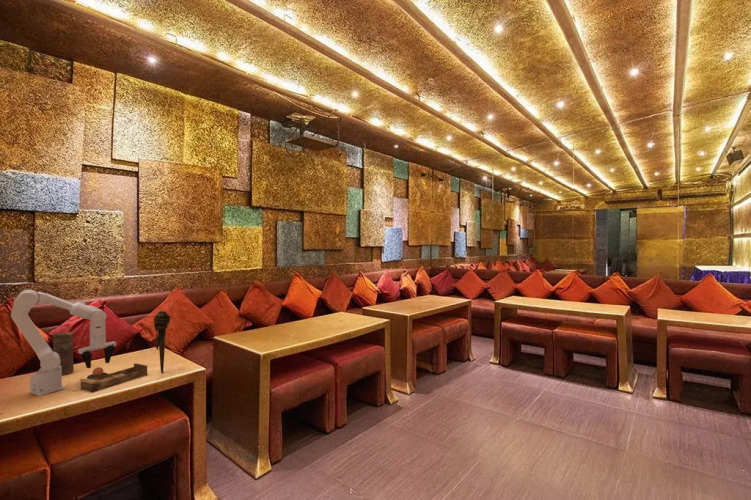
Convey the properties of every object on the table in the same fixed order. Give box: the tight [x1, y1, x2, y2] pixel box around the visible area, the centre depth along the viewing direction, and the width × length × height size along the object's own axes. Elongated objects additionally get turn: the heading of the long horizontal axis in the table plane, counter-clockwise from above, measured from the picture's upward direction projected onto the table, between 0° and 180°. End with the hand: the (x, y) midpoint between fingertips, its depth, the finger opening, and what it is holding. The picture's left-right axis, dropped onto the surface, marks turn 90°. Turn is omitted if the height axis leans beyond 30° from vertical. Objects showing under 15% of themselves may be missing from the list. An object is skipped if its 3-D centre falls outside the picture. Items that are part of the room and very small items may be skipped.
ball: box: [91, 367, 104, 376], centre depth 164 cm, size 4×4×4 cm
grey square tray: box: [86, 371, 109, 379], centre depth 164 cm, size 6×6×3 cm
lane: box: [79, 362, 148, 393], centre depth 162 cm, size 23×9×4 cm, turn 155°
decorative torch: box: [153, 310, 171, 374], centre depth 174 cm, size 7×7×30 cm
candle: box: [52, 331, 75, 376], centre depth 174 cm, size 8×7×20 cm
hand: (98, 365), depth 164 cm, fingers open, 7 cm apart
